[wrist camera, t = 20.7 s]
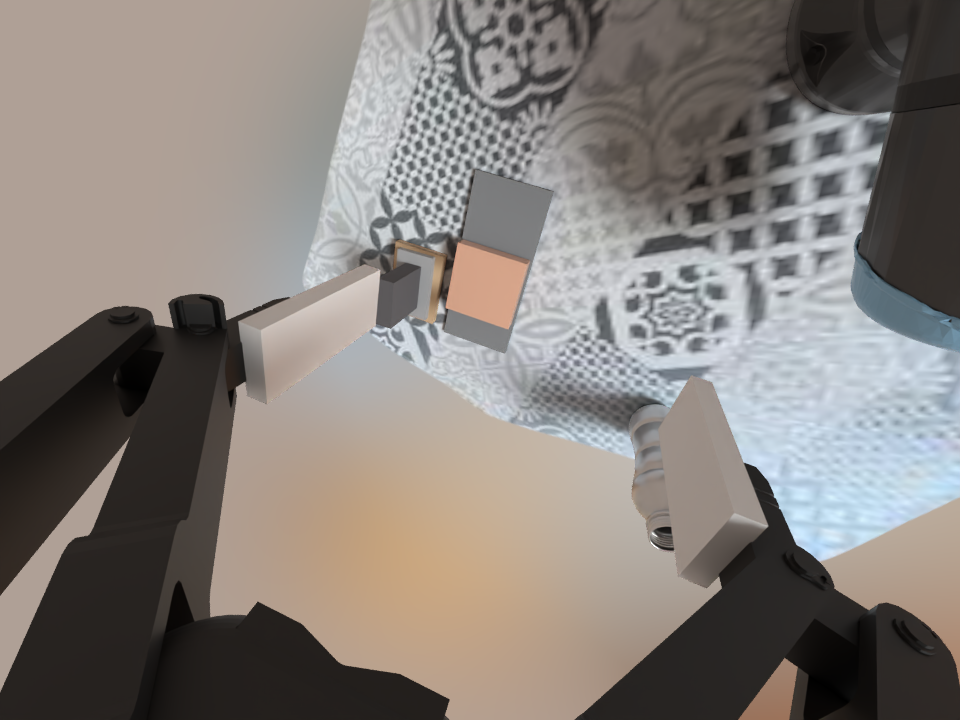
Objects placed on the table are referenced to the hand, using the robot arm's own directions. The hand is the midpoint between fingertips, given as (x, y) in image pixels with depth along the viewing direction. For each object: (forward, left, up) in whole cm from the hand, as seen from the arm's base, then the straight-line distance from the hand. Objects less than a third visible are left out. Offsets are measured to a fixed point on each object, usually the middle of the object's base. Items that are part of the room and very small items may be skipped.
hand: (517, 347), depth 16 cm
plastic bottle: (+22, +18, -35) cm, 45 cm away
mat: (+9, -9, -35) cm, 37 cm away
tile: (+6, -9, -33) cm, 35 cm away
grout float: (+14, -19, -34) cm, 41 cm away
